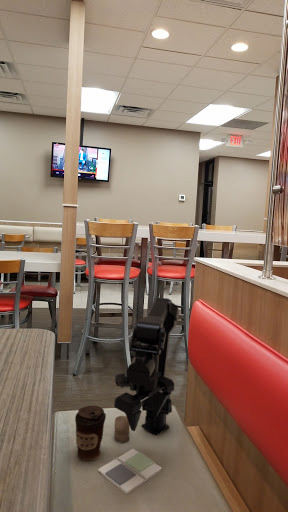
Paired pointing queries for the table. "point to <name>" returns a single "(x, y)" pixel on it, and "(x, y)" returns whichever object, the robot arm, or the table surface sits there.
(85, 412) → the coffee cup
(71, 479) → the table surface
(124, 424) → the brown tapered cylinder
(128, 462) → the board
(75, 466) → the table surface
